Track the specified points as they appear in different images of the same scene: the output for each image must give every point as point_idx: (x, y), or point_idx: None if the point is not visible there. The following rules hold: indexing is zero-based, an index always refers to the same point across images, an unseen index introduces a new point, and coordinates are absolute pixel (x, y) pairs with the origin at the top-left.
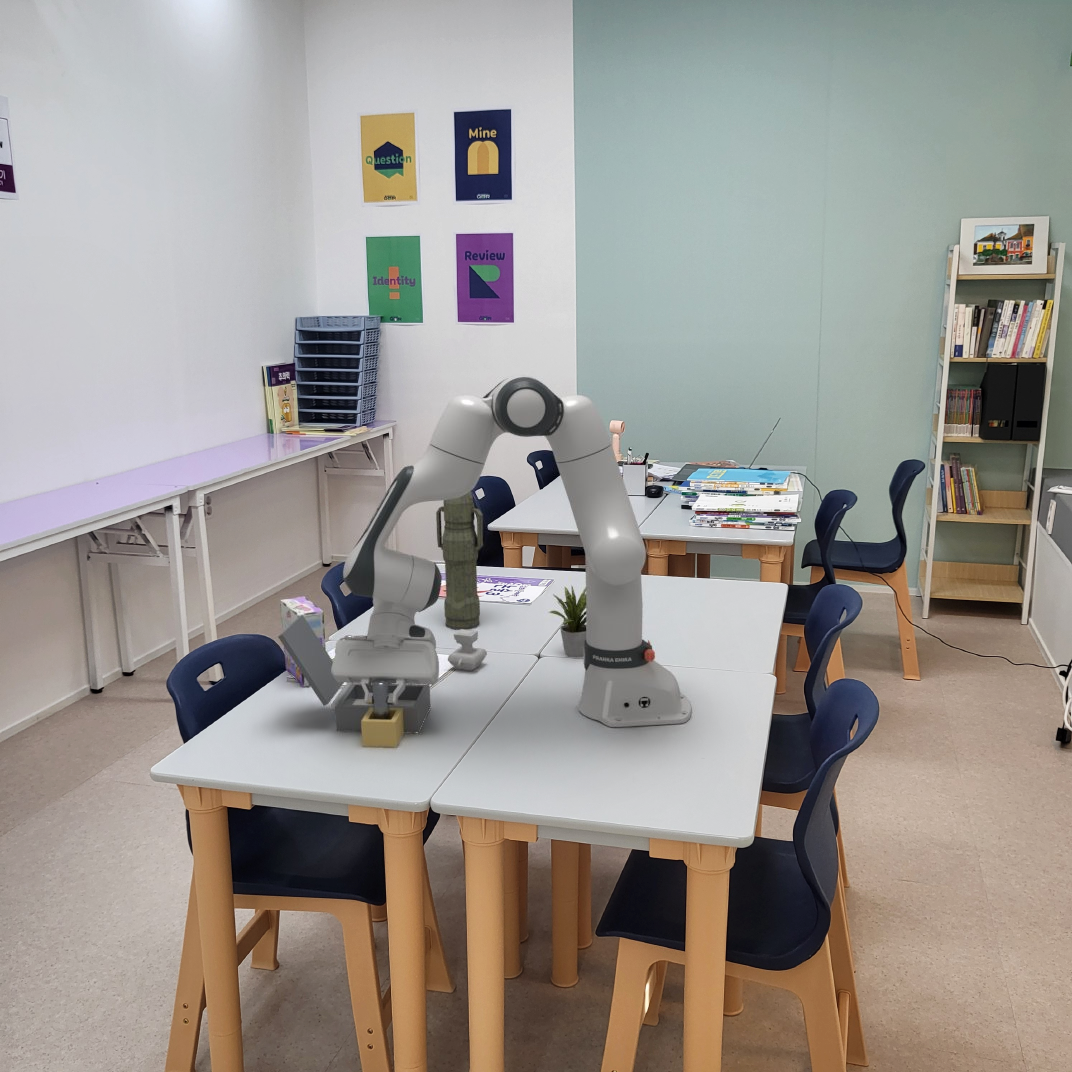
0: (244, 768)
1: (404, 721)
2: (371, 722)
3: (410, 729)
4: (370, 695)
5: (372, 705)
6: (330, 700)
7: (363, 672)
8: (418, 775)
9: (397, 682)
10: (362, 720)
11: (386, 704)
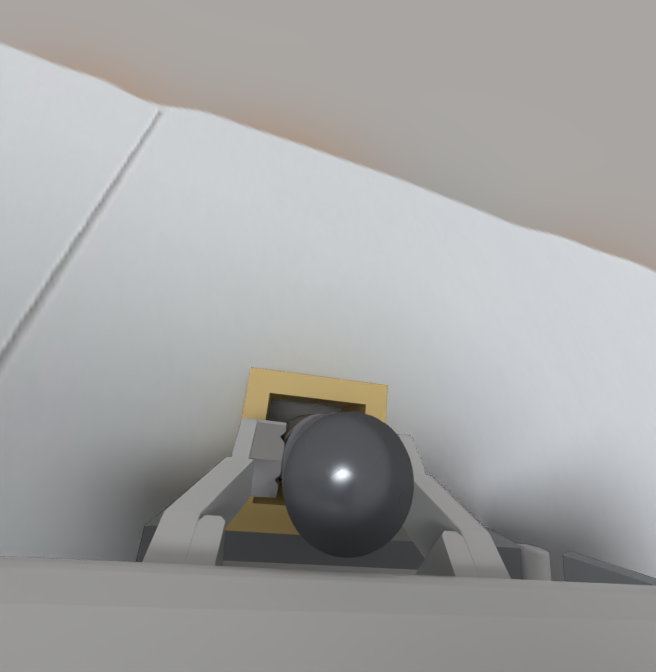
0: (593, 295)
1: None
2: (346, 380)
3: None
4: None
5: (371, 565)
6: None
7: (539, 616)
8: (188, 210)
9: (209, 534)
10: (384, 392)
11: (292, 427)
